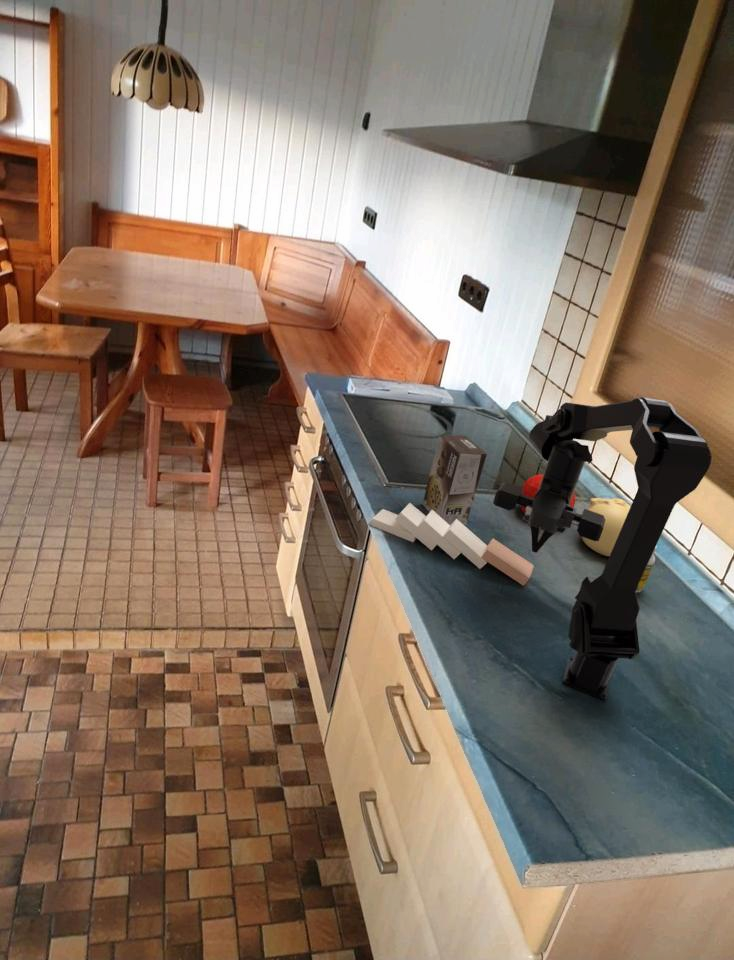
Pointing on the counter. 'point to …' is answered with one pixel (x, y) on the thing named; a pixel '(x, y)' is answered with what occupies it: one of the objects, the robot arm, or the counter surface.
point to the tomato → (533, 486)
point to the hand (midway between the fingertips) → (534, 551)
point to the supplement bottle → (646, 572)
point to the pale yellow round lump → (608, 523)
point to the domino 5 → (508, 562)
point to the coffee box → (454, 478)
